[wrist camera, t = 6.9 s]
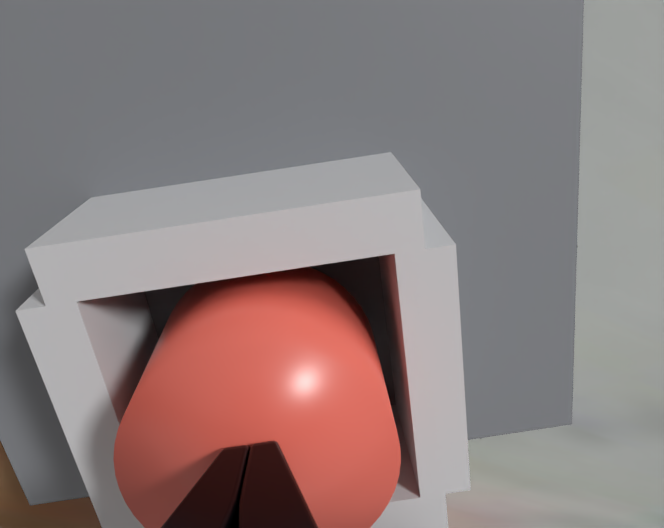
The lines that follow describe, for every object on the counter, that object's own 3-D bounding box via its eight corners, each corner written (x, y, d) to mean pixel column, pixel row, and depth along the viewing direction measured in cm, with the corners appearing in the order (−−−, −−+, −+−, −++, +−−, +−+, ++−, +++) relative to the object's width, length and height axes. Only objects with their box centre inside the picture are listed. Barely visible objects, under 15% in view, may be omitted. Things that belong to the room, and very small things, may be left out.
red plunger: (189, 457, 12) (155, 587, 10) (136, 277, 11) (74, 369, 8) (385, 427, 12) (412, 549, 10) (362, 243, 11) (385, 321, 8)
